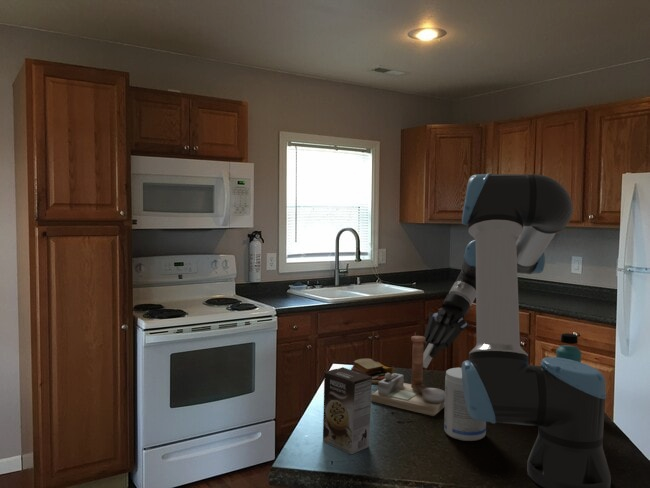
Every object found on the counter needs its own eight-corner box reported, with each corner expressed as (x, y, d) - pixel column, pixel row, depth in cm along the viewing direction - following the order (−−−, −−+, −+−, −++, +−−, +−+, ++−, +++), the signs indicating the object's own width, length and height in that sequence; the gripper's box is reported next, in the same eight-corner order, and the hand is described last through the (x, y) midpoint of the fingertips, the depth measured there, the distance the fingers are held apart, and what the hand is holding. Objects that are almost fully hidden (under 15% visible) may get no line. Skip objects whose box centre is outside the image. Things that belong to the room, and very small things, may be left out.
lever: (449, 401, 143) (451, 347, 142) (429, 404, 141) (431, 349, 140) (422, 384, 157) (424, 335, 156) (403, 386, 155) (405, 336, 153)
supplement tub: (494, 437, 128) (496, 375, 127) (466, 446, 123) (468, 381, 122) (462, 422, 136) (464, 364, 135) (434, 430, 131) (437, 370, 130)
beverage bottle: (577, 413, 143) (582, 338, 142) (550, 408, 147) (554, 334, 145) (581, 406, 149) (585, 333, 147) (554, 401, 152) (558, 330, 151)
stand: (433, 416, 140) (434, 388, 139) (371, 401, 149) (371, 375, 149) (452, 400, 151) (453, 375, 151) (393, 387, 161) (394, 363, 161)
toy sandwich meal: (370, 387, 161) (370, 371, 161) (345, 375, 173) (345, 360, 173) (403, 381, 168) (403, 366, 168) (377, 369, 179) (377, 355, 179)
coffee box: (321, 441, 123) (322, 371, 122) (340, 433, 128) (342, 366, 127) (351, 455, 117) (353, 381, 116) (370, 446, 122) (372, 375, 120)
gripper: (436, 289, 168) (399, 352, 158) (473, 295, 158) (435, 363, 148) (446, 304, 172) (410, 366, 162) (482, 311, 162) (446, 378, 152)
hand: (422, 364), depth 155 cm, fingers closed
